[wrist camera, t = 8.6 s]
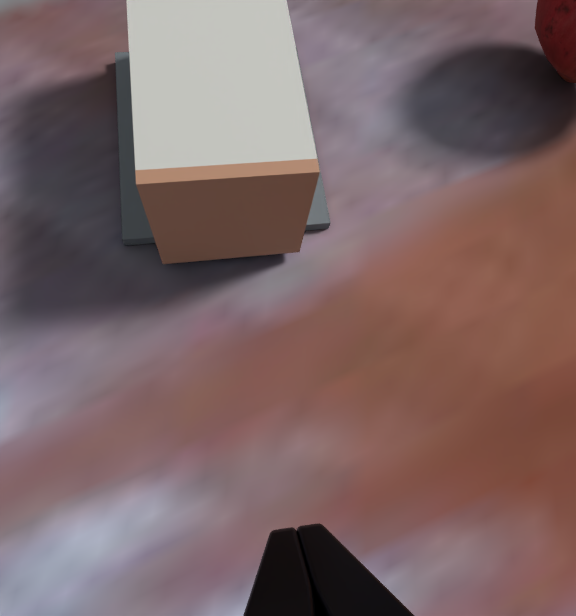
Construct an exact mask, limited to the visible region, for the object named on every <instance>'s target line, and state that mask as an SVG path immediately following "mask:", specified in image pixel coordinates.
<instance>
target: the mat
mask: <svg viewBox="0 0 576 616" xmlns="http://www.w3.org/2000/svg"><path fill="white" fill-rule="evenodd" d="M296 52H297V48H296ZM297 57H298V53H297ZM115 62H116V89H117V115H118V142H119V169H120V196H121V223H122V241H123V243H124V245H136V244H148V243H156V242H155V239H154V236H153V233H152V230H151V227H150V224H149V221H148V218H147V216H146V213H145V210H144V207H143V204H142V201H141V198H140V195H139V192H138V189H137V186H136V174H135V155H134V135H133V116H132V96H131V77H130V57H129V52H117V53H115ZM298 62H299V58H298ZM299 67H300V64H299ZM300 72H301V69H300ZM301 77H302V74H301ZM302 83H303V79H302ZM303 88H304V84H303ZM304 93H305V89H304ZM305 98H306V94H305ZM306 103H307V100H306ZM307 108H308V105H307ZM308 113H309V110H308ZM309 118H310V115H309ZM310 123H311V120H310ZM311 129H312V125H311ZM312 134H313V131H312ZM313 139H314V136H313ZM314 144H315V141H314ZM315 149H316V146H315ZM316 154H317V151H316ZM317 159H318V156H317ZM318 164H319V161H318ZM319 170H320V167H319ZM329 226H330V218H329V213H328V208H327V203H326V197H325V192H324V187H323V182H322V177H321V172H320V174H319V178H318V181H317V185H316V189H315V193H314V197H313V201H312V205H311V209H310V212H309V216H308V220H307V224H306V228H305V230H317V229H328V228H329Z"/></svg>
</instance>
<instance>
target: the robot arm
mask: <svg viewBox="0 0 576 616" xmlns="http://www.w3.org/2000/svg"><path fill="white" fill-rule="evenodd" d="M244 616H414V615H413V614H412V613H411V612H410V611H409V610H408V609H407V608H406V607H405V606H404V605H403V604H402V603H401V602H400V601H399V600H398V599H397V598H396V597H395V596H394V595H393V594H392V593H391V592H390V591H389V590H388V589H387V588H386V587H385V586H384V585H383V584H382V583H381V582H380V581H379V580H378V579H377V578H376V577H375V576H374V575H373V574H372V573H371V572H370V571H369V570H368V569H367V568H366V567H365V566H364V565H363V564H362V563H361V562H360V561H359V560H358V559H357V558H356V557H355V556H353V555H352V554H351V553H350V552H349V551H348V550H347V549H346V548H345V547H344V546H343V545H342V544H341V543H340V542H339V541H338V540H337V539H336V538H335V537H334V536H333V535H332V534H331V533H330V532H329V531H328V530H327V529H326V528H325V527H324V526H323V525H322V524H311V525H304V526H299V527H298V528H297V531H296V530H295V528H292V527H291V528H284V529H278V530H273V531H272V532H271V533H270V535H269V538H268V541H267V544H266V547H265V550H264V553H263V556H262V559H261V563H260V566H259V569H258V572H257V575H256V578H255V581H254V584H253V588H252V591H251V594H250V597H249V600H248V603H247V606H246V609H245V612H244Z"/></svg>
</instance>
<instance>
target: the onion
mask: <svg viewBox="0 0 576 616" xmlns="http://www.w3.org/2000/svg"><path fill="white" fill-rule="evenodd" d="M535 30H536V33H537V36H538V38H539V41H540V44H541V46H542V49H543V51H544V53H545V55H546V58H547V59H548V61H549V62H550V63H551V65H552V66H553V67H554V68H555V69H556V70H557V72H558V74H559V75H560V76H561V77H562V79H564V80H565V81H567V82H570V83H576V0H538V3H537V9H536V20H535Z"/></svg>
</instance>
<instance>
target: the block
mask: <svg viewBox="0 0 576 616" xmlns="http://www.w3.org/2000/svg"><path fill="white" fill-rule="evenodd" d="M127 18H128V37H129V57H130V77H131V96H132V116H133V135H134V155H135V174H136V186H137V189H138V192H139V195H140V198H141V201H142V204H143V207H144V210H145V213H146V216H147V218H148V221H149V224H150V227H151V230H152V233H153V236H154V239H155V242H156V245H157V248H158V251H159V254H160V257H161V260H162V263H163V264H171V263H182V262H193V261H205V260H216V259H227V258H238V257H249V256H260V255H271V254H282V253H293V252H299V251H300V247H301V243H302V240H303V236H304V232H305V228H306V224H307V220H308V216H309V212H310V209H311V205H312V201H313V197H314V193H315V189H316V185H317V181H318V178H319V174H320V170H319V164H318V159H317V154H316V149H315V144H314V139H313V134H312V129H311V123H310V118H309V113H308V108H307V103H306V98H305V93H304V88H303V83H302V77H301V72H300V67H299V62H298V57H297V52H296V47H295V42H294V36H293V31H292V26H291V21H290V16H289V11H288V6H287V1H286V0H127Z"/></svg>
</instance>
